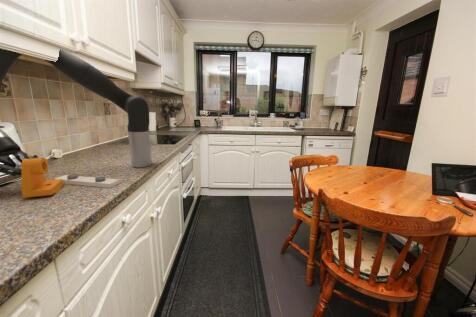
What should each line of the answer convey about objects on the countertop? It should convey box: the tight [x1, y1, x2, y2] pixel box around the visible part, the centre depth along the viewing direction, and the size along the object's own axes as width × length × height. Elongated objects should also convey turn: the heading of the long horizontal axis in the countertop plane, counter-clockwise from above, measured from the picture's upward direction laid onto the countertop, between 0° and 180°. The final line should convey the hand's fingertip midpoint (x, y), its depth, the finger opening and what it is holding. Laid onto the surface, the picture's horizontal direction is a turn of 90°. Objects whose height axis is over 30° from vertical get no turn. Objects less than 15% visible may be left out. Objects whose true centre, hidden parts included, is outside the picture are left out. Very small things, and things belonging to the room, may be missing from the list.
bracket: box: [21, 157, 64, 199], centre depth 71 cm, size 11×7×12 cm, turn 22°
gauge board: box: [52, 174, 121, 189], centre depth 81 cm, size 5×24×2 cm, turn 81°
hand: (35, 180), depth 72 cm, fingers closed
